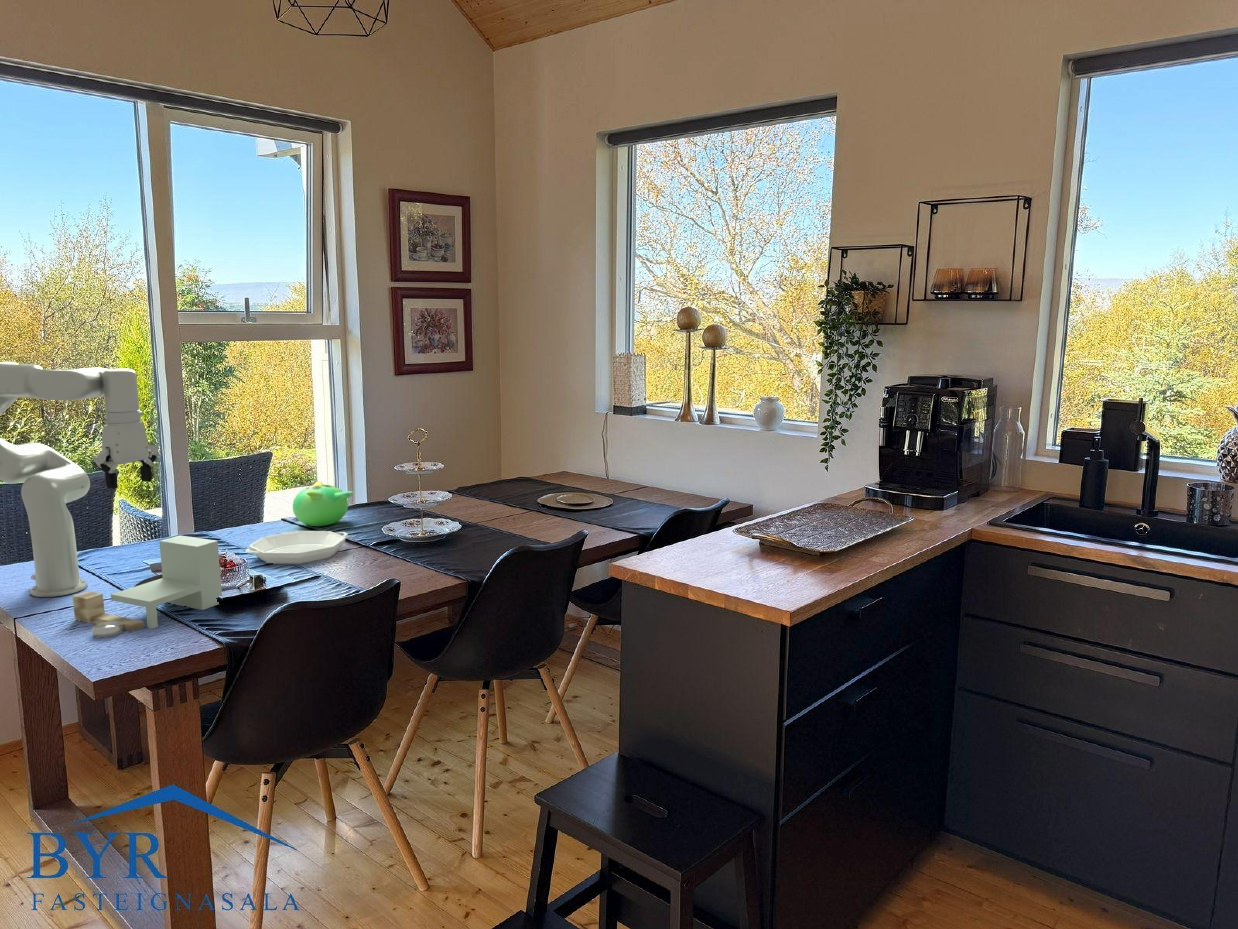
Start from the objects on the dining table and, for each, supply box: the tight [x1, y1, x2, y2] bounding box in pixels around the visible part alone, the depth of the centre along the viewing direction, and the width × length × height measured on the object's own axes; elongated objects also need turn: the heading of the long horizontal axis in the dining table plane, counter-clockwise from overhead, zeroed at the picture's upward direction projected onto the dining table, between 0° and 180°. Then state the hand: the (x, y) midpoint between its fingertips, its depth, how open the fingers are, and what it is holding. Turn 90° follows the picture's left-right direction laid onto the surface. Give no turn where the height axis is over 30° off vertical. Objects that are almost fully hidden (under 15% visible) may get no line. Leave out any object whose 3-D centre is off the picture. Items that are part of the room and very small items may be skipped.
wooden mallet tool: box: [72, 590, 145, 632], centre depth 205 cm, size 19×4×6 cm, turn 66°
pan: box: [244, 530, 349, 565], centre depth 264 cm, size 31×26×4 cm
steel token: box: [91, 621, 124, 639], centre depth 199 cm, size 6×6×2 cm
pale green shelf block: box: [110, 535, 223, 630], centre depth 213 cm, size 13×20×16 cm, turn 156°
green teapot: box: [292, 480, 355, 527], centre depth 298 cm, size 18×17×15 cm
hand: (129, 484), depth 224 cm, fingers open, 9 cm apart
